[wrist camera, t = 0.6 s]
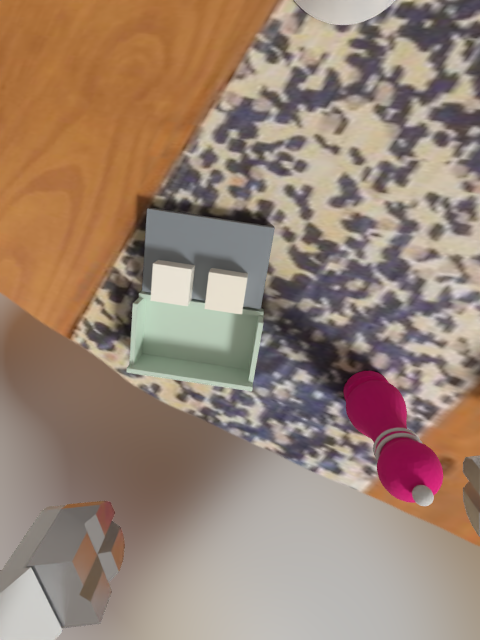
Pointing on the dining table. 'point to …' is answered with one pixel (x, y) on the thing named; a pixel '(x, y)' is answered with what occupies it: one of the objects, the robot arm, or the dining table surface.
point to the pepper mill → (392, 438)
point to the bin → (195, 343)
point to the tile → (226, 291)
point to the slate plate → (208, 249)
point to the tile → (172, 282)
